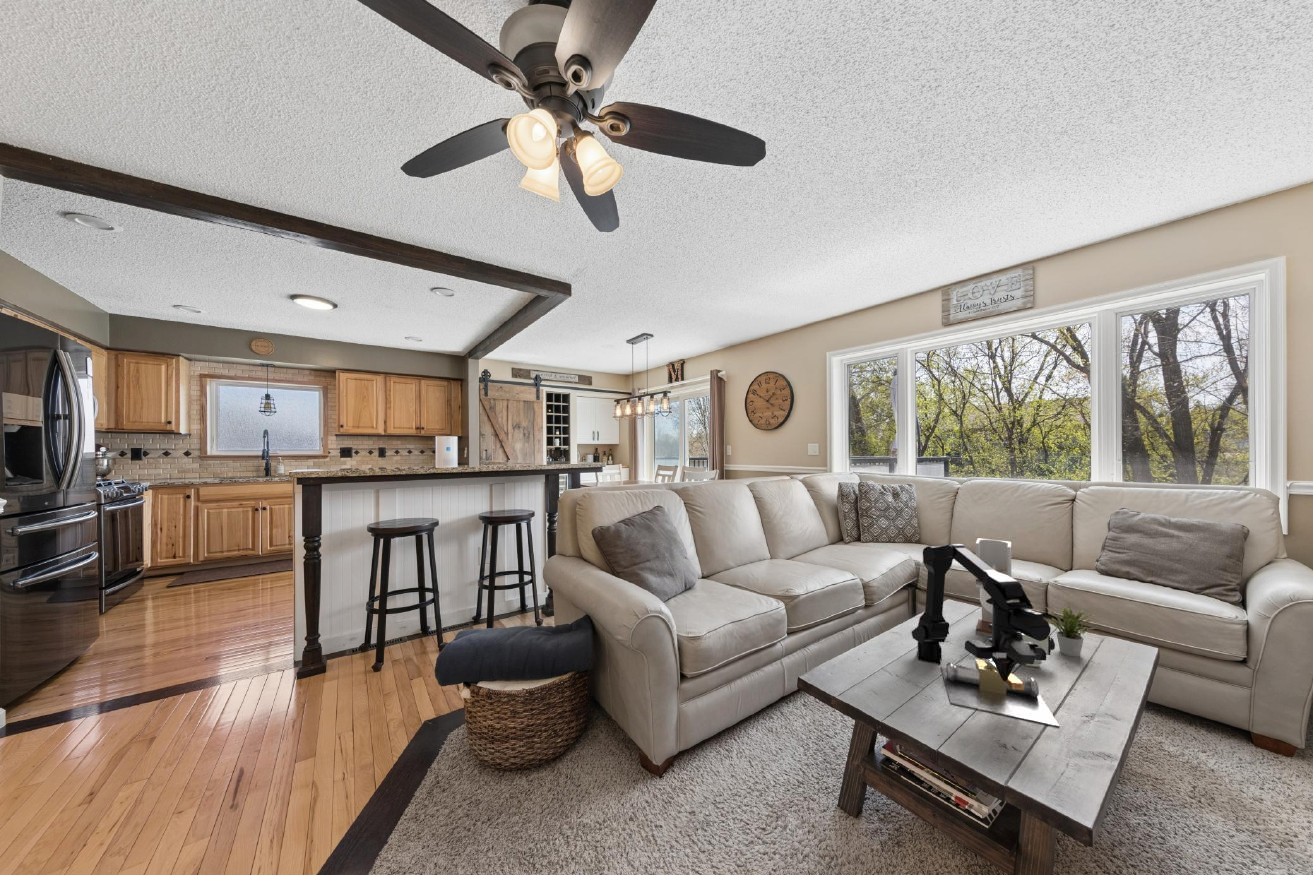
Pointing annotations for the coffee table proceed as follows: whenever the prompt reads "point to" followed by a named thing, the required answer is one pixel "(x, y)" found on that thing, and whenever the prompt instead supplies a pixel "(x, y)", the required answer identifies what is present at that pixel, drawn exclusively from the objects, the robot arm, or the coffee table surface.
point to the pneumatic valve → (1045, 644)
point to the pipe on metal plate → (995, 693)
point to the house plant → (1070, 632)
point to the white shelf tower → (998, 560)
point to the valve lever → (1011, 680)
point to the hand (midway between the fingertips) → (1004, 680)
